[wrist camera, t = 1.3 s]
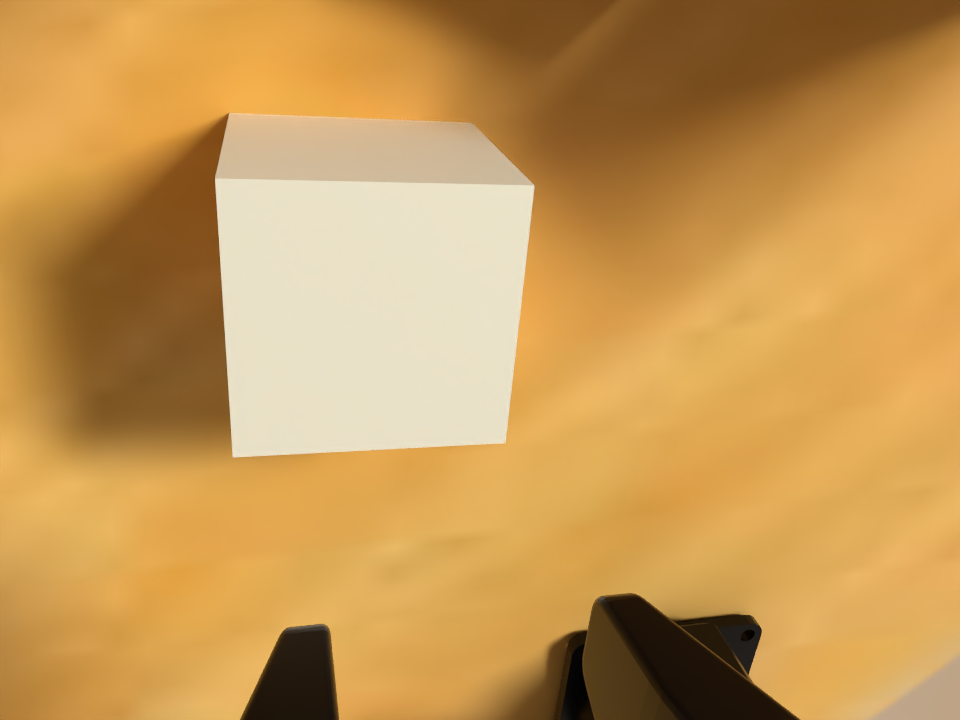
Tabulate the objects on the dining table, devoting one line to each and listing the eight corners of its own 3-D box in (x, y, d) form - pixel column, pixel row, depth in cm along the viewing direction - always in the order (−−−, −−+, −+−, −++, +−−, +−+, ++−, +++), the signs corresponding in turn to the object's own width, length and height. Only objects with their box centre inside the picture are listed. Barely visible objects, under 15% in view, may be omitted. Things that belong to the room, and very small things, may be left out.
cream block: (455, 331, 20) (505, 442, 16) (241, 335, 19) (233, 457, 15) (470, 121, 18) (534, 185, 14) (229, 112, 17) (215, 178, 12)
